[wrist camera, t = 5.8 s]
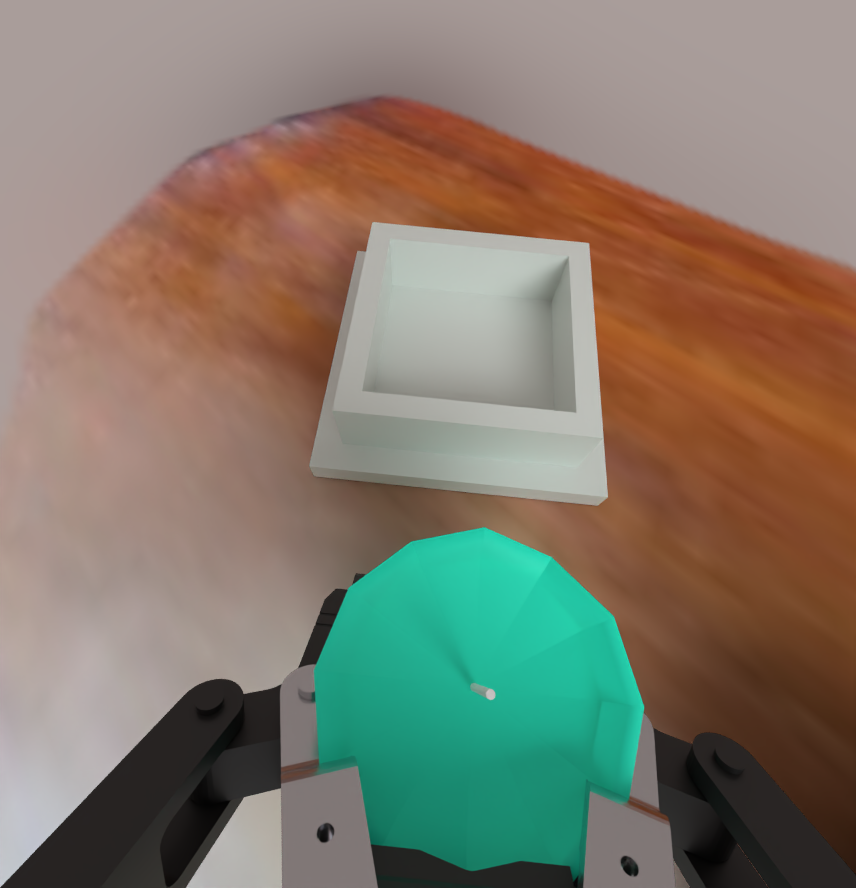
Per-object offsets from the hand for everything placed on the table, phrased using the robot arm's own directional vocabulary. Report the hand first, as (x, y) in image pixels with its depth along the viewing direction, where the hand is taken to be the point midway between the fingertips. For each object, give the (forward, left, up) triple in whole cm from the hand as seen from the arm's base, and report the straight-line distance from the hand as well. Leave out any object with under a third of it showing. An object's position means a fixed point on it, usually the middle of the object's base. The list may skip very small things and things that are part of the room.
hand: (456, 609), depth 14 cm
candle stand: (0, -12, -5) cm, 13 cm away
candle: (0, +2, -5) cm, 6 cm away
